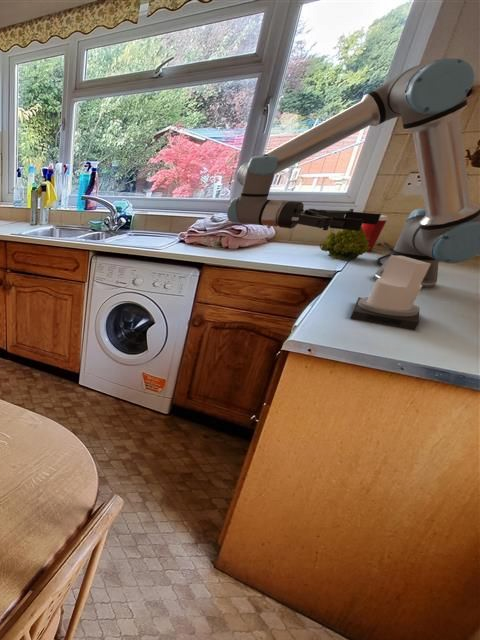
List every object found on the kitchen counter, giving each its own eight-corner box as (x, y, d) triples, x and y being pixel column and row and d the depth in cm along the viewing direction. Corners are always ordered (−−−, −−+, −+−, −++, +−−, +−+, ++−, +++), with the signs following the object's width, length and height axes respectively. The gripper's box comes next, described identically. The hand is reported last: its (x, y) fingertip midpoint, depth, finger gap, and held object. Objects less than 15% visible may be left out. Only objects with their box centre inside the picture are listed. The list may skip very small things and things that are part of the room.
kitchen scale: (355, 304, 126) (360, 293, 125) (415, 314, 119) (421, 302, 117) (350, 318, 117) (355, 306, 115) (414, 330, 109) (421, 317, 107)
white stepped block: (358, 299, 120) (377, 255, 114) (391, 299, 120) (412, 255, 114) (384, 310, 112) (406, 264, 106) (420, 310, 112) (444, 263, 106)
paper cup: (372, 249, 185) (387, 214, 178) (375, 253, 179) (391, 217, 172) (349, 247, 189) (363, 213, 182) (351, 251, 183) (366, 216, 176)
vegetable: (360, 254, 161) (356, 216, 163) (315, 268, 176) (311, 233, 177) (384, 258, 166) (380, 221, 168) (338, 272, 181) (335, 237, 182)
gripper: (296, 222, 139) (379, 230, 124) (260, 232, 127) (347, 243, 112) (304, 197, 136) (391, 202, 121) (268, 205, 123) (359, 212, 108)
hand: (370, 222), depth 116 cm, fingers open, 13 cm apart
